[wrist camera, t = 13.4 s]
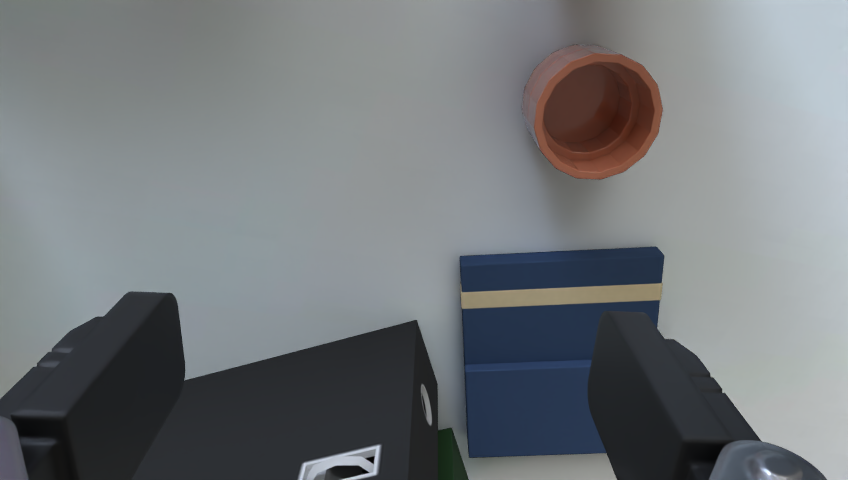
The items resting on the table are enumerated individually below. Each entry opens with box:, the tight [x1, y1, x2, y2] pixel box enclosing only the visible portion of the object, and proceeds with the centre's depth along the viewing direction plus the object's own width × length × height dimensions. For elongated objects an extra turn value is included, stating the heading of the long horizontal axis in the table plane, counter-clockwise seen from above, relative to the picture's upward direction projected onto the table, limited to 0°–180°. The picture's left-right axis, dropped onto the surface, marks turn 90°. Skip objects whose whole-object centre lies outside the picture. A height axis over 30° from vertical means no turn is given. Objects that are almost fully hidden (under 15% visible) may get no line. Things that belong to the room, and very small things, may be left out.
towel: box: [460, 247, 664, 458], centre depth 39 cm, size 12×14×2 cm
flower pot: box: [522, 44, 663, 179], centre depth 31 cm, size 6×6×5 cm
